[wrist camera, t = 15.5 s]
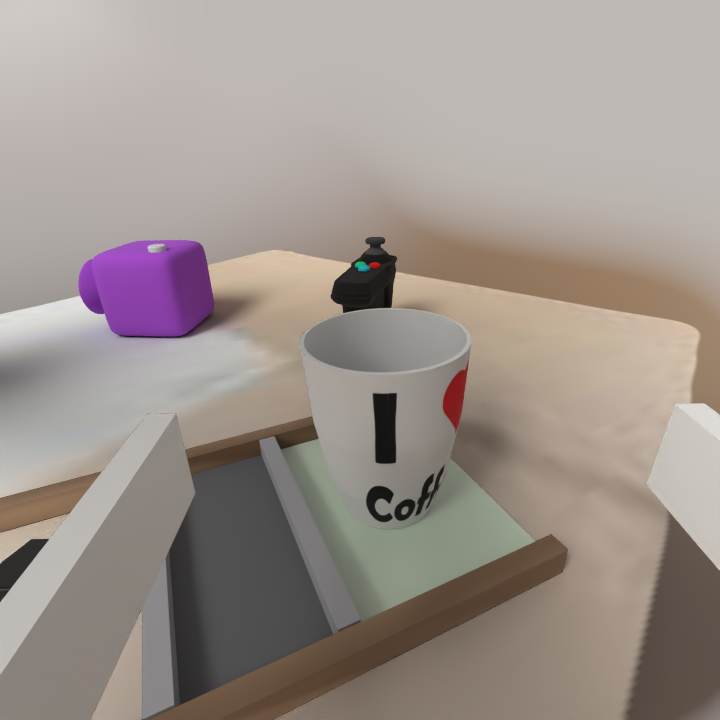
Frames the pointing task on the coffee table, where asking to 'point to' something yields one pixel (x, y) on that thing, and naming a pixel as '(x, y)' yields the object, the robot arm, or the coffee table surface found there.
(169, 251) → the toy camera
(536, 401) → the coffee table surface
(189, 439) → the coffee table surface
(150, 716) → the tray
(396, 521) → the cup
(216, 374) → the coffee table surface
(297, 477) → the pad
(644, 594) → the coffee table surface
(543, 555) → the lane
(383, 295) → the controller
